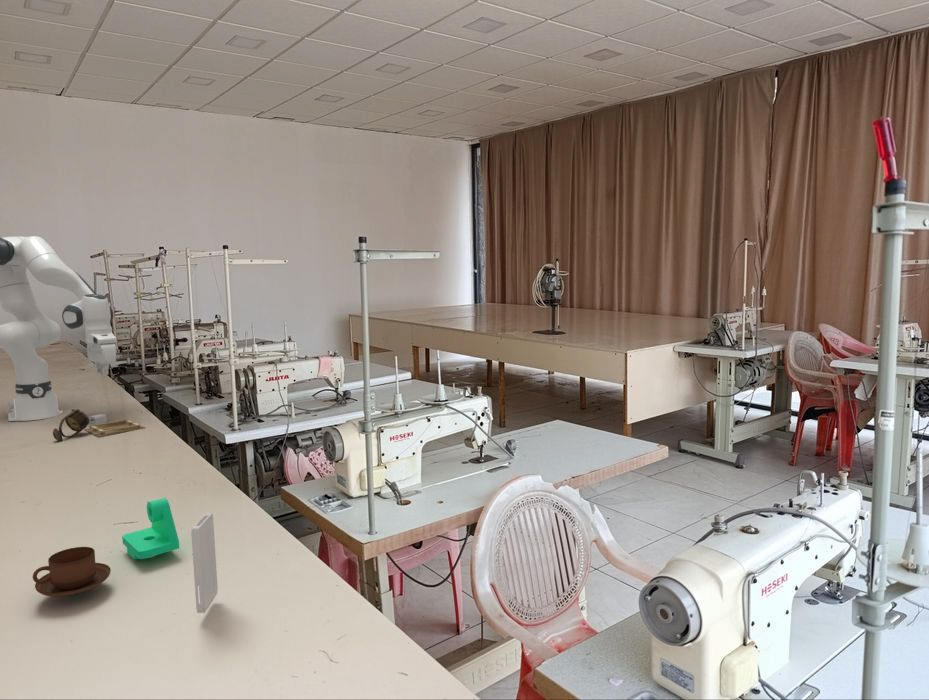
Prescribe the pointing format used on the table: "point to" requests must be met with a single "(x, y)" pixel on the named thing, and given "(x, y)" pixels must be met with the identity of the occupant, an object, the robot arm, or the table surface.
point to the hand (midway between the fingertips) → (102, 374)
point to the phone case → (204, 562)
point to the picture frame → (113, 428)
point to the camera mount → (153, 533)
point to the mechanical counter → (72, 423)
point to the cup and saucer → (71, 573)
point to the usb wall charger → (98, 419)
